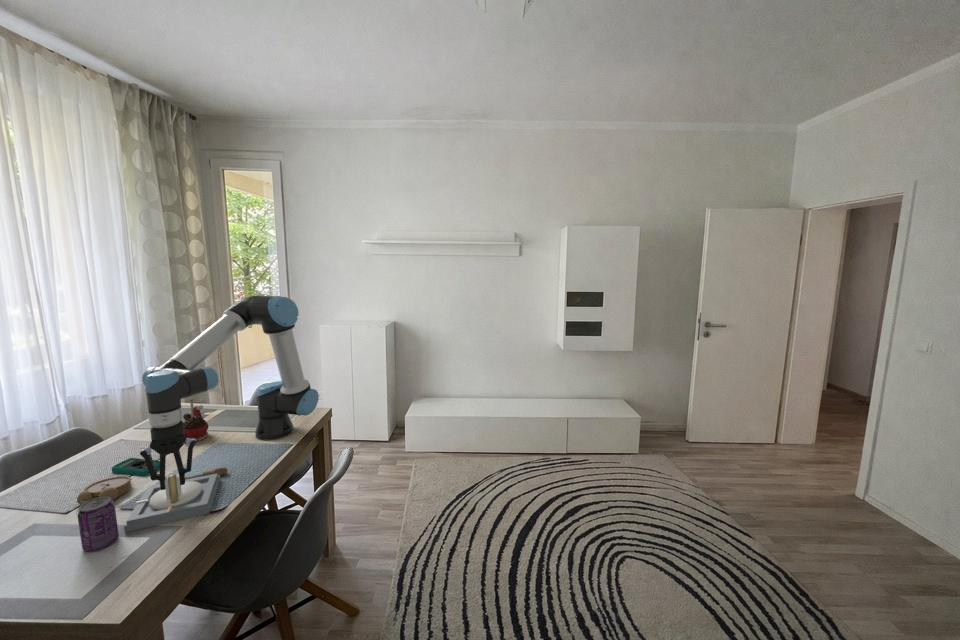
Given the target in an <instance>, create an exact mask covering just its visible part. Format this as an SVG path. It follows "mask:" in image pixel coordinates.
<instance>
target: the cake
mask: <svg viewBox="0 0 960 640" xmlns="http://www.w3.org/2000/svg"><path fill="white" fill-rule="evenodd" d="M193 400H194V399H193V398H190V399H189V402H190V403H189V404H190V405H189V406H190V412H191V413H184V414H183V415H182V419H184V422H183V429H184V434H185V436H186V438H190V439H192V438H196V442H197V441H201V440H204V439H206V438H207V437H208V436H209V431H208V429H209V423H208V422H207V421H206V419H204V416H203V415H202V413H201V410H203V408H204V406H203V405H202V404H199V405H196V406H194V401H193Z"/></svg>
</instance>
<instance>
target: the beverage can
mask: <svg viewBox="0 0 960 640" xmlns="http://www.w3.org/2000/svg"><path fill="white" fill-rule="evenodd" d="M114 502H115V501H111V497H100V498H96V499H93V500H90V501H88V502H86V503H84V504H82V505H80V506H79V507H78V510H79V511H78V513H77V522H78V523H77V524H78V527H79V529H78V530H79V535H80V541H81V543H80V544H81V548H82V550H83V551H86V552H92V551H98V550H101V549H104V548H105V547H107V546H109V545H111V544H112V543H114V542H116V541H117V539H118V538H119V537H120V535H119V527H118V519H117V513H116V512H117V511H116V505H115V503H114Z"/></svg>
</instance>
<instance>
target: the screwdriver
mask: <svg viewBox="0 0 960 640" xmlns="http://www.w3.org/2000/svg"><path fill="white" fill-rule="evenodd" d="M217 473H218V475H220V477H221V476H225V475H226V474H227V473H228V469H227V467H224V466H223V467H218V468H215V469H214V468H213V469H209V470H208V469H207V470H204V471H203V472H202V473H201V474H195V475H190V476H185V480H186V479H191V478H196V477H201V476H207V475H212V474H217Z"/></svg>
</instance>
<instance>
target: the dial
mask: <svg viewBox="0 0 960 640" xmlns="http://www.w3.org/2000/svg"><path fill="white" fill-rule="evenodd" d="M176 475H177V473H173V474H169V475H167V476H168V482H169V491H170V500H167V498H166V489H165V490H159V491H158V492H156V493H155V494H154V495H153V496H152V497H151V498H150V507H151V508H152V509H155V510H165V509H168V507H171V506H172V508H174V507H179V506H183V505H185V504H187V503H189V502H191V501H193V500H194V499H196V498H197V497H198V496H199V495H200V494H201V493H202V485H201V484H200V483H199V482H194V481H188V482H185V484H184V485H181V490H182V496H181V497H179V498H178V490H177V480H176Z"/></svg>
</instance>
